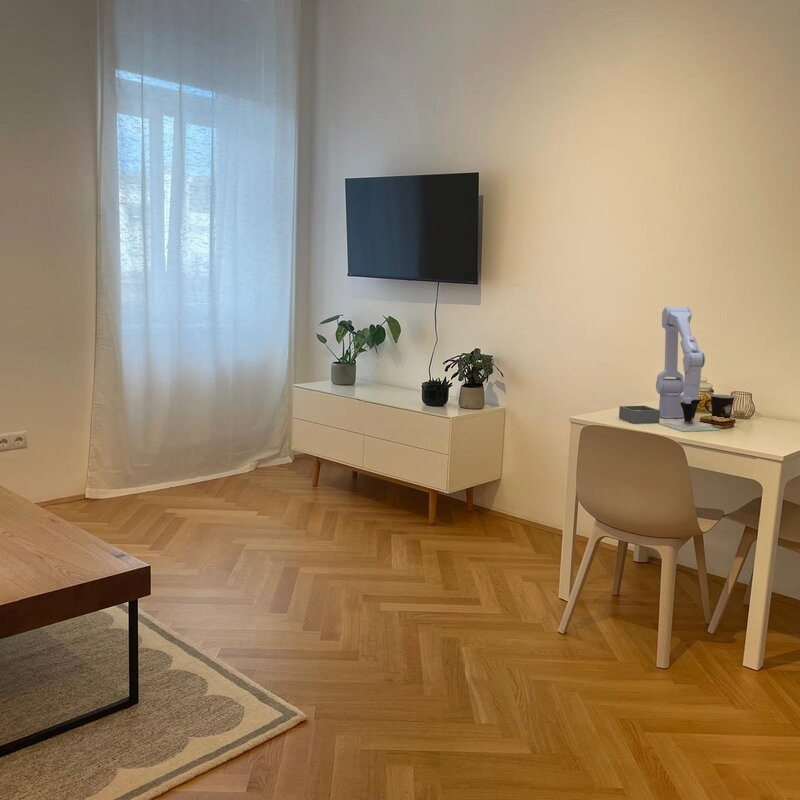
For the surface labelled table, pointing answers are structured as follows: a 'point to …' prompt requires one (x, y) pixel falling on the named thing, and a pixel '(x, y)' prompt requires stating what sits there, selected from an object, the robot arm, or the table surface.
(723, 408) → the coffee mug
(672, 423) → the lid
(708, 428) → the mat
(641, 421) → the box
